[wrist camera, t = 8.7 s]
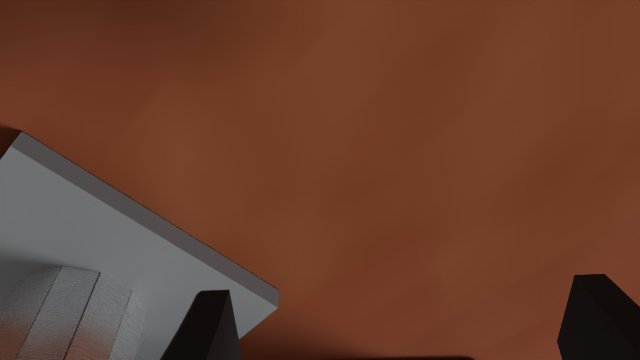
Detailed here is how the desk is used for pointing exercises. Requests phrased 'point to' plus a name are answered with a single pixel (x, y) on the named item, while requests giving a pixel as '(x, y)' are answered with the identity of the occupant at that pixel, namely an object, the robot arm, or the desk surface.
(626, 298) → the robot arm
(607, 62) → the desk surface
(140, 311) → the collar
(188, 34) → the desk surface
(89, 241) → the duct board
